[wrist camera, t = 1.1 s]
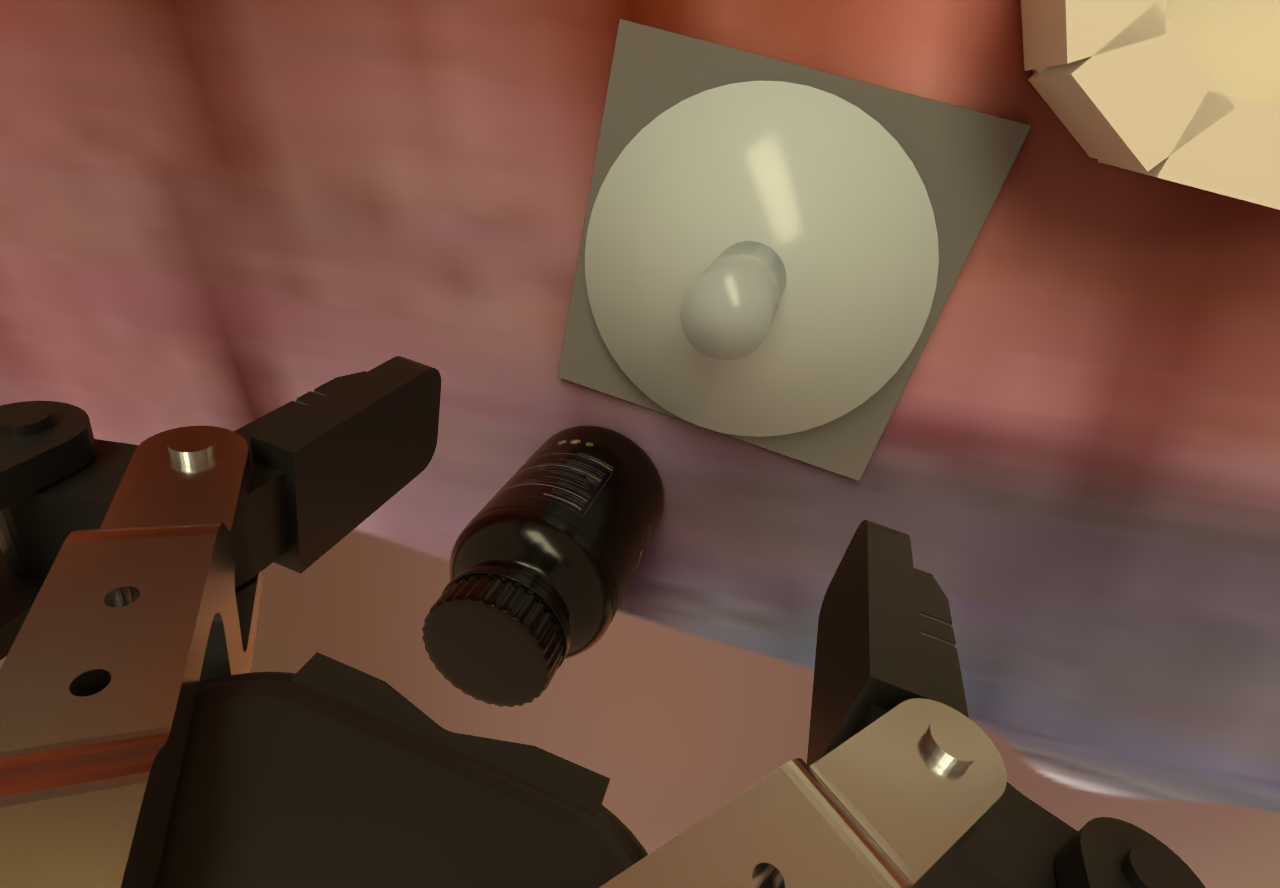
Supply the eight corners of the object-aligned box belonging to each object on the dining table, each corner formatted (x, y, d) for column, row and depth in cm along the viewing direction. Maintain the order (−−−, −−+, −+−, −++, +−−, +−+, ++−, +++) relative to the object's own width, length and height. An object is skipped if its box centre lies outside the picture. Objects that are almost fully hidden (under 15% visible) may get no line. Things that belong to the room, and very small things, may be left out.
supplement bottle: (673, 546, 33) (589, 747, 23) (548, 535, 35) (420, 715, 25) (662, 421, 30) (559, 588, 20) (526, 417, 32) (369, 566, 22)
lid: (569, 370, 30) (509, 426, 24) (630, 39, 23) (564, 22, 18) (852, 467, 28) (850, 550, 23) (1007, 137, 21) (1053, 149, 16)
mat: (560, 373, 30) (557, 376, 30) (623, 20, 23) (620, 18, 23) (859, 476, 28) (859, 481, 28) (1028, 124, 21) (1031, 125, 21)
